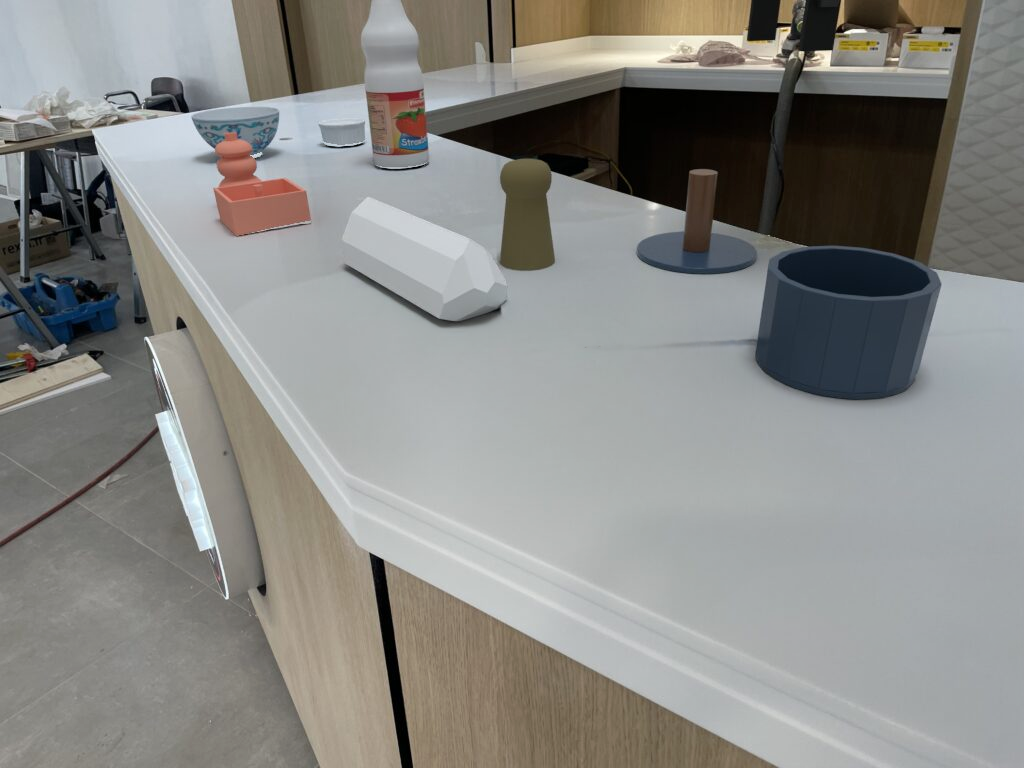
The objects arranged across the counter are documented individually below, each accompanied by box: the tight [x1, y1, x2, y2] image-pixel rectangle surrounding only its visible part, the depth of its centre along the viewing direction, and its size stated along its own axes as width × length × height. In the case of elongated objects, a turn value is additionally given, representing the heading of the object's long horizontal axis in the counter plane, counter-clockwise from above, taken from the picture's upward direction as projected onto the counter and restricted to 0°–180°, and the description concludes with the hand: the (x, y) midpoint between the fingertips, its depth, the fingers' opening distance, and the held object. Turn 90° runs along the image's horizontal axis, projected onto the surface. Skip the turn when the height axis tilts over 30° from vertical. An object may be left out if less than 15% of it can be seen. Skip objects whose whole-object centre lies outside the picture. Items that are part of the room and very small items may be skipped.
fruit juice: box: [360, 0, 430, 167], centre depth 118 cm, size 9×9×28 cm
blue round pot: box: [755, 245, 942, 400], centre depth 55 cm, size 11×11×8 cm
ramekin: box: [317, 117, 366, 145], centre depth 142 cm, size 9×9×4 cm
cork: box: [499, 158, 556, 272], centre depth 75 cm, size 6×6×11 cm
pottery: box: [213, 132, 312, 237], centre depth 97 cm, size 18×10×10 cm, turn 32°
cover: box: [636, 168, 758, 275], centre depth 76 cm, size 12×12×9 cm
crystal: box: [341, 196, 509, 322], centre depth 72 cm, size 7×7×24 cm
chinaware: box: [190, 106, 280, 155], centre depth 133 cm, size 15×15×8 cm
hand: (785, 45), depth 69 cm, fingers open, 13 cm apart
